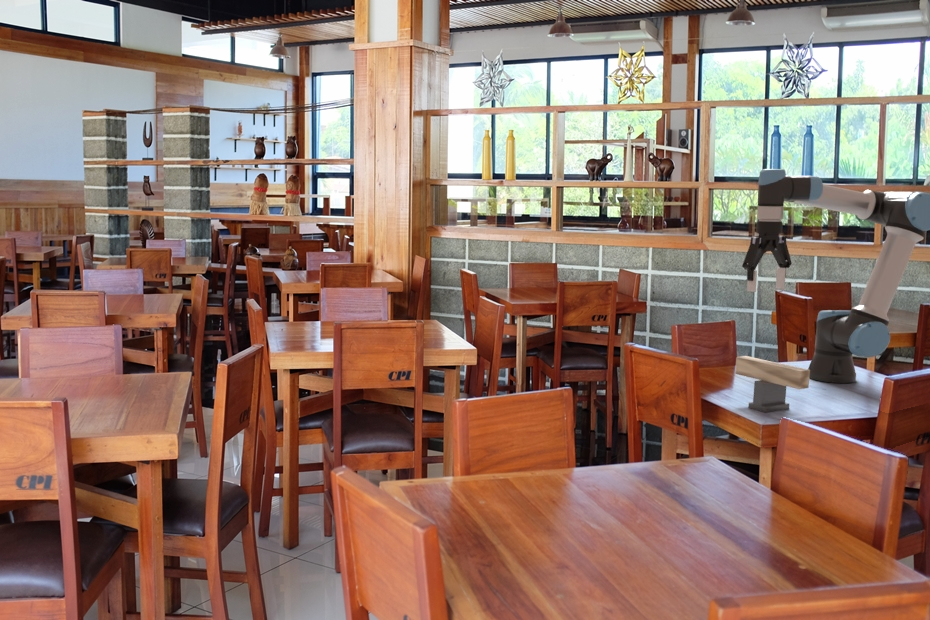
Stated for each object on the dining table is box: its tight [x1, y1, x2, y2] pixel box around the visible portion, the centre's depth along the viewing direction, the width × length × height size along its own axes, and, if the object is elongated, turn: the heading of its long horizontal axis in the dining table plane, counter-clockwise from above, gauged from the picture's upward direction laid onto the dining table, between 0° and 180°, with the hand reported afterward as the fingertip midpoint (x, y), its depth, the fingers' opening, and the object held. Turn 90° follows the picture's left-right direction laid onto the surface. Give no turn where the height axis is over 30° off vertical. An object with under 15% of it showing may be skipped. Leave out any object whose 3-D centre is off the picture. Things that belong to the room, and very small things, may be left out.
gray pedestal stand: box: [747, 379, 790, 414], centre depth 257 cm, size 10×6×8 cm, turn 122°
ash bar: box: [734, 355, 810, 390], centre depth 256 cm, size 4×22×5 cm, turn 33°
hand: (765, 290), depth 278 cm, fingers open, 13 cm apart
